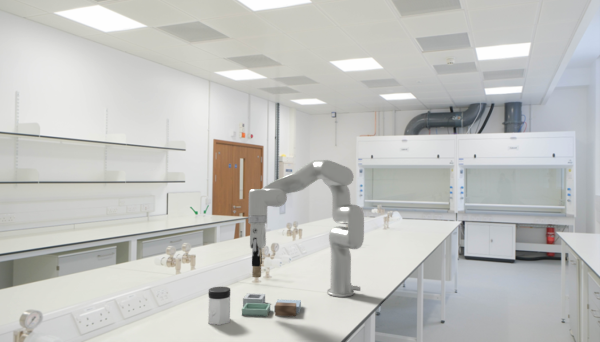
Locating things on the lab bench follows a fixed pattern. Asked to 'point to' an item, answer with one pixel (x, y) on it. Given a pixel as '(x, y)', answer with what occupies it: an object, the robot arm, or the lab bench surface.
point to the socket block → (254, 298)
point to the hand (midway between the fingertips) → (257, 264)
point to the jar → (219, 305)
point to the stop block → (285, 309)
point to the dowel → (257, 268)
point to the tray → (256, 309)
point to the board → (298, 302)
